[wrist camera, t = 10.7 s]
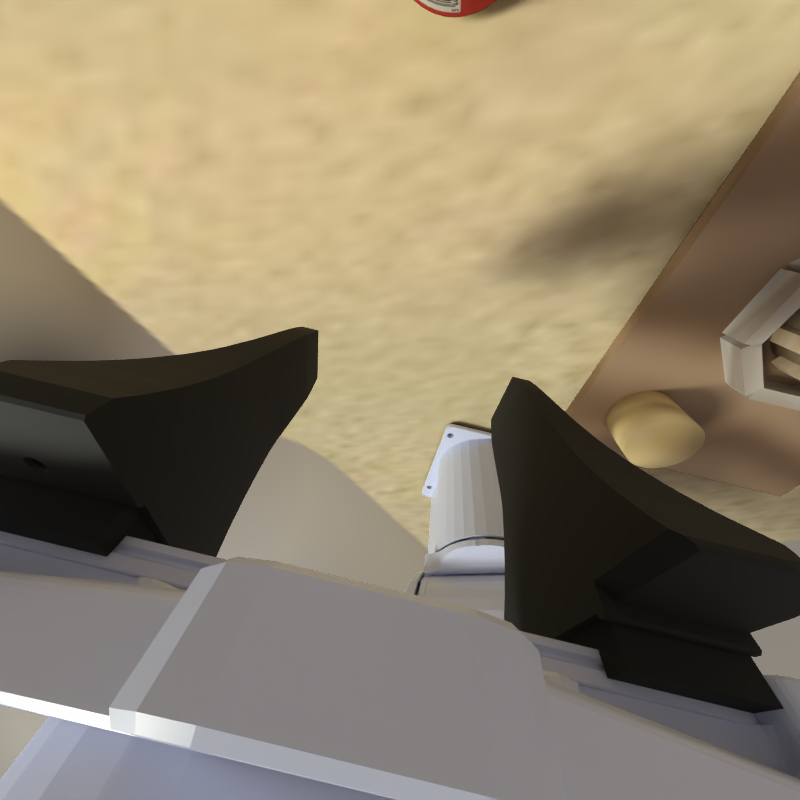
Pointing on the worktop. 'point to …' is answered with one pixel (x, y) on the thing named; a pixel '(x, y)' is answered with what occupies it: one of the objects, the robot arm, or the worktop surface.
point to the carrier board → (716, 334)
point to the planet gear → (787, 346)
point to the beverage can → (454, 6)
